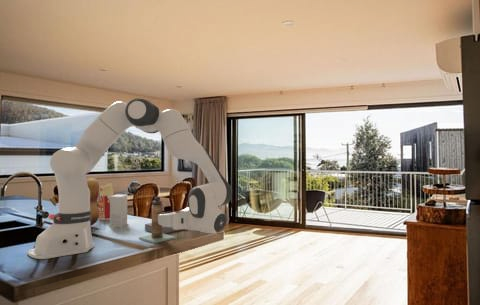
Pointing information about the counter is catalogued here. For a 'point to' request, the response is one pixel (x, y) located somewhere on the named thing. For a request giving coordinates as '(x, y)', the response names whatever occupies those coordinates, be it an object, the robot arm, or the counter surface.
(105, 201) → the milk carton
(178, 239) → the counter surface
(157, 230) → the pepper mill
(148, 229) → the holder
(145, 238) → the plate
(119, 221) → the skincare box
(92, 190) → the butternut squash
